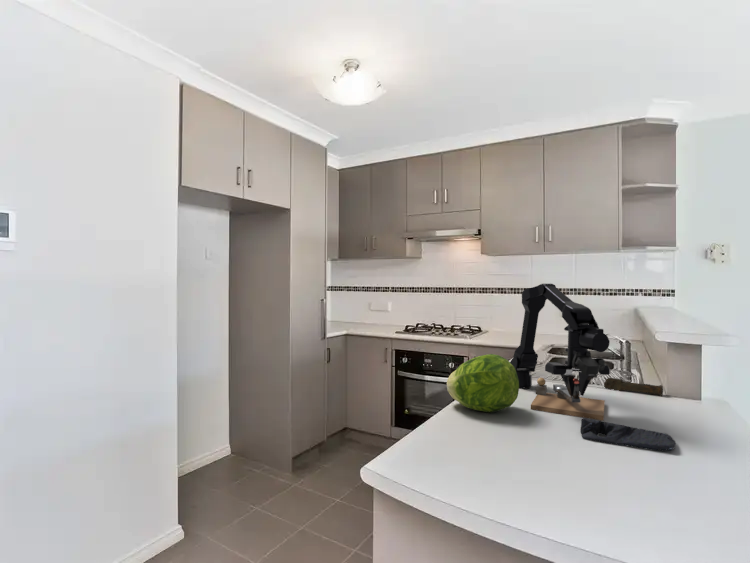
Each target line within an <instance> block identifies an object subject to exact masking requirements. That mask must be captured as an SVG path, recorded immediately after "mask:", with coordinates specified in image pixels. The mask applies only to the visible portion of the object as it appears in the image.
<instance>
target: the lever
mask: <svg viewBox="0 0 750 563" xmlns="http://www.w3.org/2000/svg"><path fill="white" fill-rule="evenodd" d="M552 386H553V387H552V392H553V393H557V392H558V393H561V394H562V395H564V396H565V397H566V398H567V399H568V400H570V401H571V402H579V403H580V398H579V397H581V395H580V382H579V378H576V377H575V378H574V379H573V396H571V395H569V392H568V390H567V387H566V385H565V384H564V385H563V384H559V383H558V384H553V385H552Z"/></svg>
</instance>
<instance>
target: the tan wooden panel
mask: <svg viewBox="0 0 750 563" xmlns="http://www.w3.org/2000/svg"><path fill="white" fill-rule="evenodd" d="M547 388H548V387H547V384H546V379H545V378H543V377H538V379H537V380H536V385H535V397H534V399H533V400H532V402H531V403H530V410H534V411H539V412H546V413H553V414H558V415H564V416H565V415H566V416H570V417H571V416H573V417H576V418H578V417H579V418H582V419H583V418H588V419H594V420H599V421H603V422H605V421H604V418H605V405H606V404H605V403H606V399H596V398H590V397H581V396H580V397H579V398H580V403H579V402H571V401H570V400H568V399H567V398H566V397H565V396H564V395H562V394H561V393H558V392H556V393H554V392H552V393H551V392H548V390H547Z"/></svg>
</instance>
